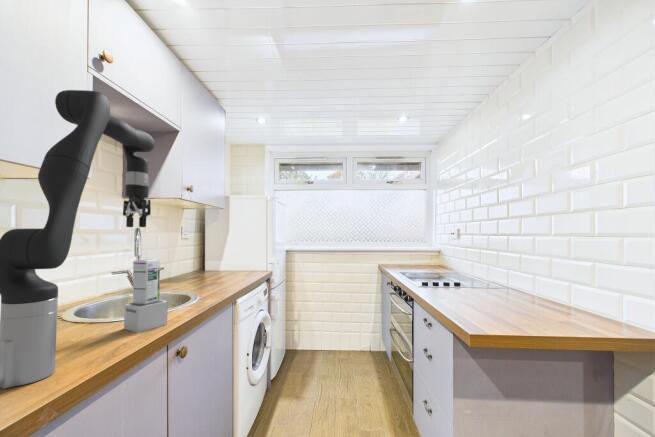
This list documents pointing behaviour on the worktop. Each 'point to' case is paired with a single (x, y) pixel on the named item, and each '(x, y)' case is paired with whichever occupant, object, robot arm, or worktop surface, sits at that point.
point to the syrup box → (146, 281)
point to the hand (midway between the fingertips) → (136, 227)
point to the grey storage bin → (145, 316)
